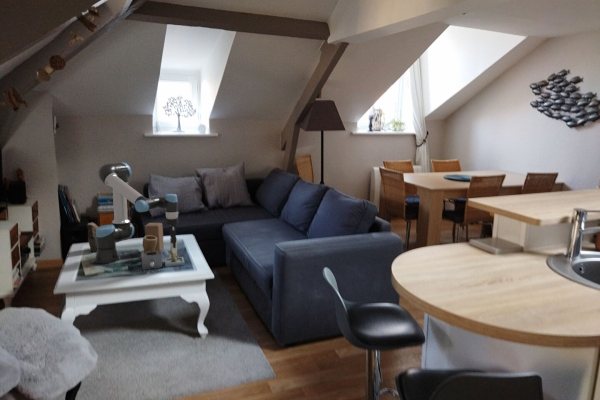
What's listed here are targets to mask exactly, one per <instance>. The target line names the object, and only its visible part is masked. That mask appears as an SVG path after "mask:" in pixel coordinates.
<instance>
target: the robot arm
mask: <svg viewBox="0 0 600 400" xmlns="http://www.w3.org/2000/svg"><path fill="white" fill-rule="evenodd" d="M132 173H133V172H132V169H131V166H130V165H129V164H128V163H126V162H122V161H121V162H120V161H119V162H118V161H117V162H112V163H104V164H102V165H101V166H100V167H99V169H98V172H97V176H98V178H99V180H100V181H101V182H102V183H103V184H104V185H105V186H107V187H111V188H112V199H113V200H112V202H113V204H112V205H113V220H112V221H111V224H104V225H100V226H98V228H97V229H96V241H97V252H96V254H95V257H94V262H95V263H96V264H103V265H104V264H111V263H115V261H116V262H118V261H120V254H119V252H118V249H117V245H116V244H117V243H119V242H122V241H123V242H124V241H127V240H129V239H131V238H132V237H133V236H134V234H135V227H134V225H133V223H131V220H130V219H128V202H127V200H128V201H129V202H130V203H131V204H133V205H134V209H135V210H136V212H138V213H146V212H148V211H152V210H157V209H165V217H166V219H165V222H166V224H167V225H168V226H169V227H168V228H169V235H170V238H172V242H171V243H172V253H176V252H177V253H178V246H177V247H176V242H177V243H178V240H177V241H176V238H177V226H176V225H178V224H179V218H178V217H179V214H180V212H179V210H178V195H177V194H176V193H167V194H165V195H164V196H161V195H160V196H159V195H152V196H151V197H149V198H146V197H145V196H144V195H143V194H141V193H140V192H138V191H137V190H136V189H135V188H134V187H132V186H130V185H129V179H130V178H131V177H132ZM174 240H175V241H174Z"/></svg>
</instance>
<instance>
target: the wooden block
mask: <svg viewBox="0 0 600 400" xmlns="http://www.w3.org/2000/svg"><path fill="white" fill-rule="evenodd" d="M147 235H152V236H155V237H157V245H156V248H155V251H159V250H161V252H162V251H163V250H164V248H165V247H164V229H163V223H162V222H148V223H147V224H146V225H144V237H145V236H147Z"/></svg>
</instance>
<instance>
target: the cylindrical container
mask: <svg viewBox="0 0 600 400" xmlns="http://www.w3.org/2000/svg"><path fill="white" fill-rule="evenodd" d="M177 239H178V238H177V237H176V241H177V242H176V247H177V248H178V240H177ZM169 240H170V258H171V262H172V263H173V262H177V257H178V251H177V252H176V253H172V243H171V242H172V238H171V237H170V238H169ZM174 241H175V240H174Z"/></svg>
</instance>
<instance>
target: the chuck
mask: <svg viewBox="0 0 600 400" xmlns="http://www.w3.org/2000/svg"><path fill="white" fill-rule="evenodd" d="M141 254H142V259H141V267H142V270H149V269H158V268H163V260H162V259H163V257H162V251H161V250H159V251H148V252H143V251H141Z"/></svg>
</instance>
